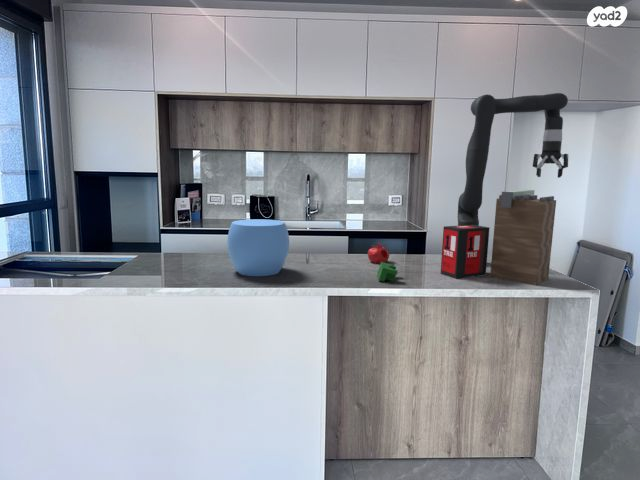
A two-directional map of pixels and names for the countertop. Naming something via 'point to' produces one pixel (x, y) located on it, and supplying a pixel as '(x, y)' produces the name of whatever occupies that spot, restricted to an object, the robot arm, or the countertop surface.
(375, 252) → the pomegranate
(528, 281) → the wooden box
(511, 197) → the grey-green flat block
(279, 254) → the planter
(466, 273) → the cleaning product box
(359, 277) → the countertop surface
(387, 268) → the green blocky piece
